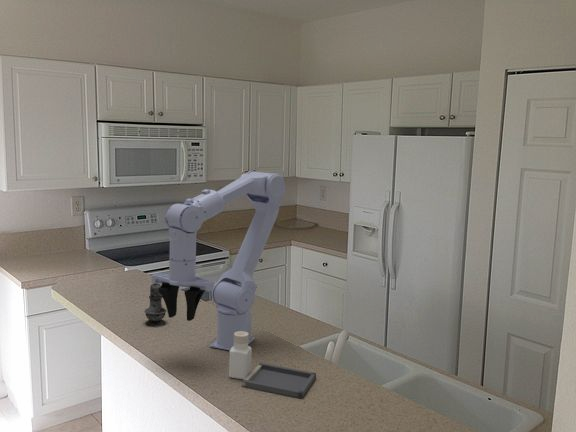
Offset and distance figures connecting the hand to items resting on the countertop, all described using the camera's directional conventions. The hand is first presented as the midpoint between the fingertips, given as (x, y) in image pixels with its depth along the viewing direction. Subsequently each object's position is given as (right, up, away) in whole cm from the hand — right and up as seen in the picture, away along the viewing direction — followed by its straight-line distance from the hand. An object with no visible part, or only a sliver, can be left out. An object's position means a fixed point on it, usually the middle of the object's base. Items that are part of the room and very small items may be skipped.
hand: (181, 317), depth 119 cm
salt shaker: (-12, -7, +25) cm, 29 cm away
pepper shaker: (+13, -12, -4) cm, 18 cm away
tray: (+22, -12, -7) cm, 26 cm away
